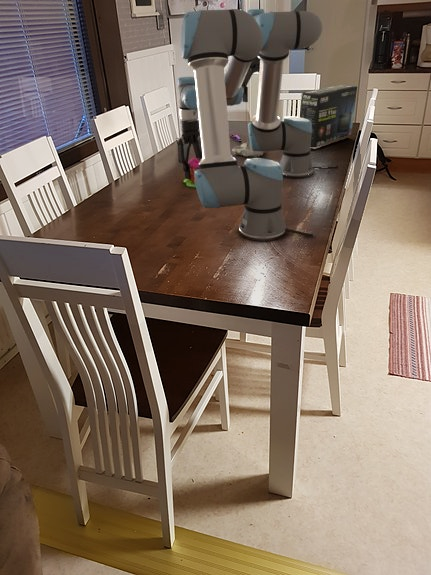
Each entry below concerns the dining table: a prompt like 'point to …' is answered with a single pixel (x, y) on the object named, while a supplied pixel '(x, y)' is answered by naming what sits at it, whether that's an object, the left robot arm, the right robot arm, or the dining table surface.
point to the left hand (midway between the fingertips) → (193, 177)
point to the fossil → (246, 150)
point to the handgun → (237, 137)
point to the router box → (329, 112)
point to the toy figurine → (192, 172)
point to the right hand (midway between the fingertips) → (255, 99)
